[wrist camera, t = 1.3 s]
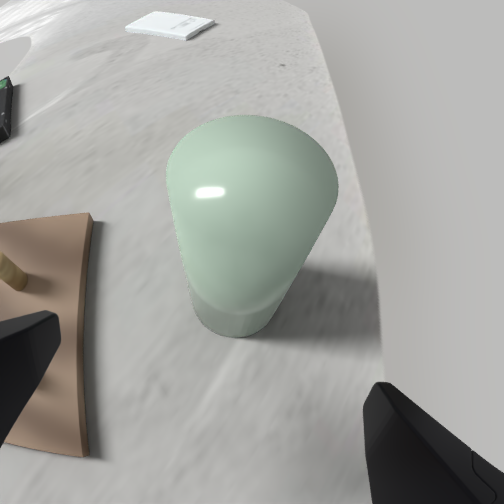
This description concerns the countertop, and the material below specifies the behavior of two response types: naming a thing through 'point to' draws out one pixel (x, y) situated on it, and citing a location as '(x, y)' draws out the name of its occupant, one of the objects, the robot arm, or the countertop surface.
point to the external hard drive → (169, 25)
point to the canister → (246, 215)
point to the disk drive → (5, 108)
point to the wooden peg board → (70, 317)
